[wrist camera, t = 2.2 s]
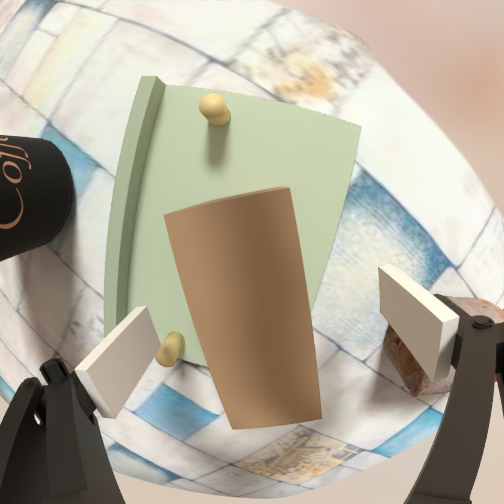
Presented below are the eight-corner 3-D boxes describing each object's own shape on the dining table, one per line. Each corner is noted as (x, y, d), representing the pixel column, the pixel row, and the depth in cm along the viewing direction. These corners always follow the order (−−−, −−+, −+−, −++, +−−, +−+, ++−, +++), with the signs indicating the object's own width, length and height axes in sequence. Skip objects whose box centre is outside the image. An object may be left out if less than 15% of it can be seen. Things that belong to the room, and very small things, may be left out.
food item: (491, 291, 21) (547, 328, 12) (467, 353, 23) (510, 401, 14) (398, 282, 22) (460, 337, 12) (373, 358, 24) (410, 430, 14)
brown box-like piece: (244, 347, 22) (232, 429, 13) (209, 200, 19) (163, 214, 11) (305, 337, 21) (322, 418, 13) (280, 186, 19) (291, 187, 10)
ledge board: (121, 329, 24) (99, 353, 20) (158, 89, 19) (135, 71, 14) (282, 373, 24) (284, 405, 20) (355, 130, 19) (376, 117, 14)
